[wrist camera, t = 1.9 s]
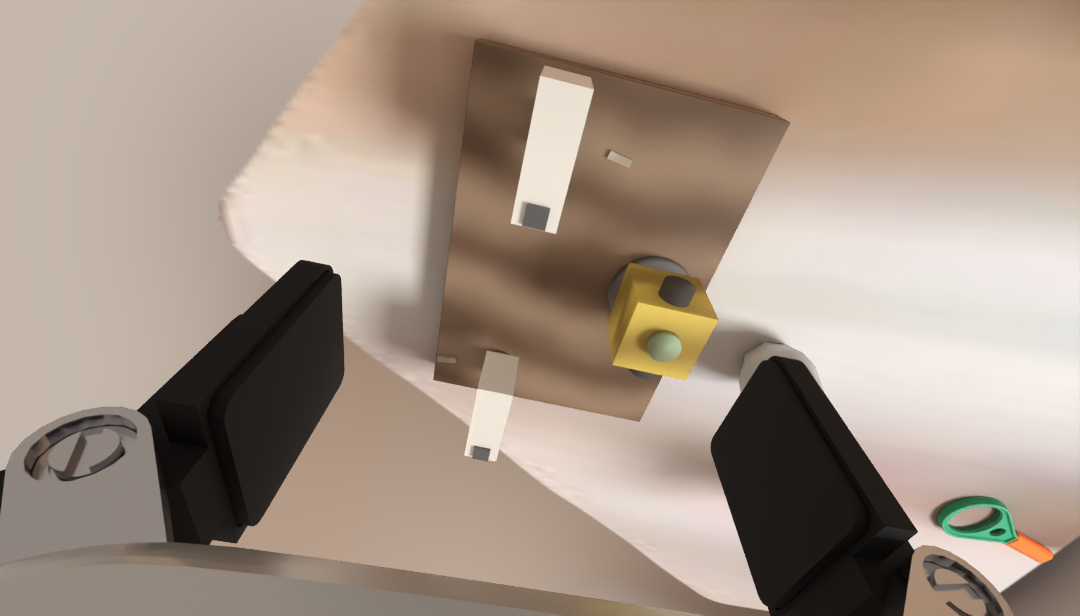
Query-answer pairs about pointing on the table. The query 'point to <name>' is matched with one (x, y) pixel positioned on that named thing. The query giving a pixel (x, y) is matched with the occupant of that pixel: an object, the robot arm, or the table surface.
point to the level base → (595, 235)
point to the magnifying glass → (992, 528)
